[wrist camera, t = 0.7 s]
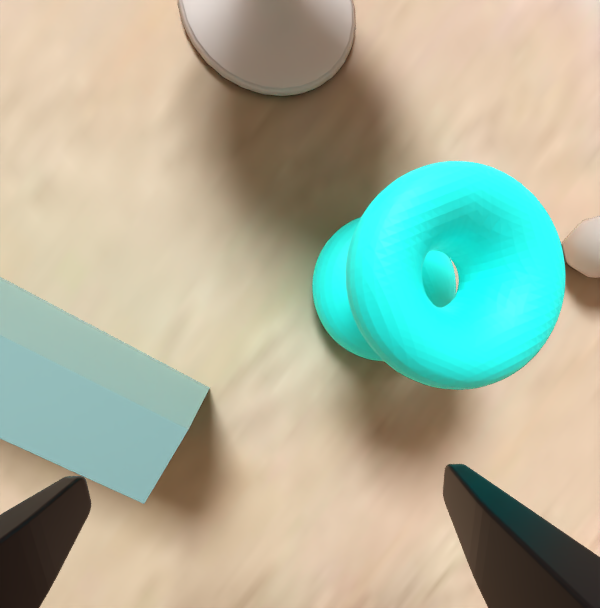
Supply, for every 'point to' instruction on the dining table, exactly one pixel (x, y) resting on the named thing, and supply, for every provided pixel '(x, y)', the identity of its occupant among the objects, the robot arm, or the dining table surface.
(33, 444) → the slat
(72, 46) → the dining table surface
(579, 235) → the tube
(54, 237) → the dining table surface
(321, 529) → the dining table surface
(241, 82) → the chalice
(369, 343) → the donuts
